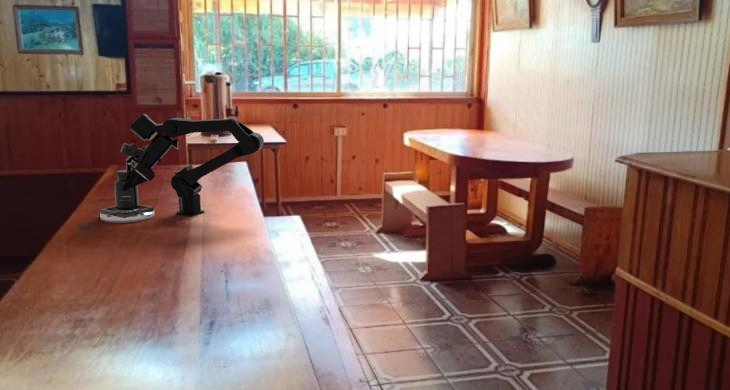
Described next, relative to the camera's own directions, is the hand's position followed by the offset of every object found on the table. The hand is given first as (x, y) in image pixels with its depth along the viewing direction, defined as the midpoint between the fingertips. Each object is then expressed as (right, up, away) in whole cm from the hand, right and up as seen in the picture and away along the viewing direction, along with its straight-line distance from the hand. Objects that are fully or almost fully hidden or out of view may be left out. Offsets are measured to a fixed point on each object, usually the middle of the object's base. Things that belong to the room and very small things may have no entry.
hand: (121, 187), depth 194 cm
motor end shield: (+1, -9, +3) cm, 9 cm away
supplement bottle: (+1, -7, +2) cm, 7 cm away
